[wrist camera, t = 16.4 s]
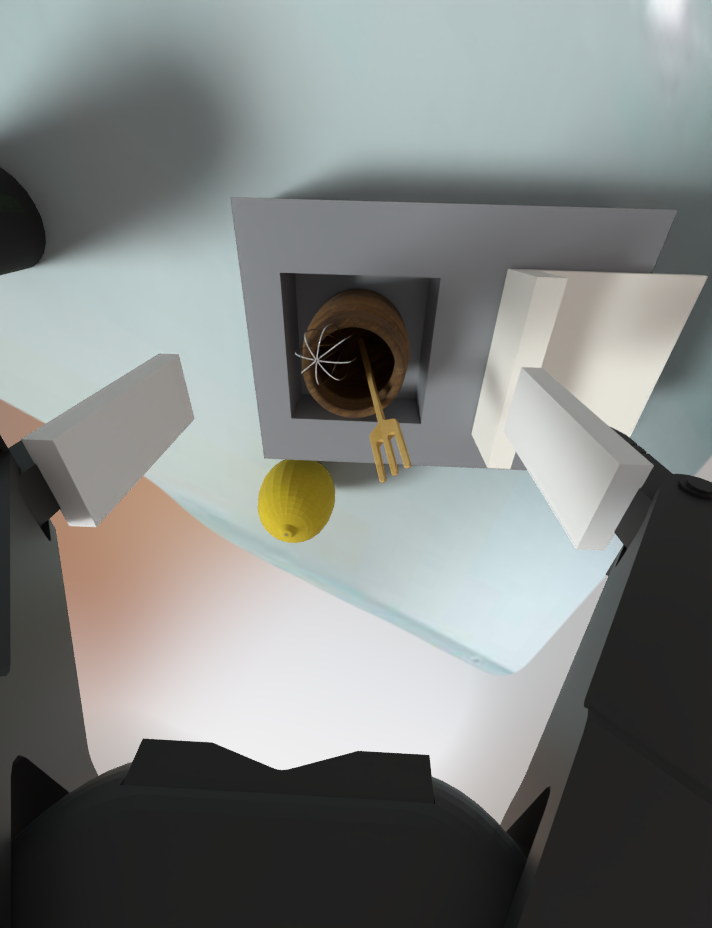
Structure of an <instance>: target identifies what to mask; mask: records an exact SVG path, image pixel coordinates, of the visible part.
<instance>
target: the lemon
mask: <svg viewBox="0 0 712 928" xmlns="http://www.w3.org/2000/svg"><path fill="white" fill-rule="evenodd" d="M334 502H335V488H334V484H333V480H332V478H331V476H330V474H329V472H328V471H327V469H326V468H325V467H324V466H322V465H321V464H320V463H319V462H317V461H312V460H289V459H285V460H283V461H281V462H280V463H278V464H277V465H275V466H274V467H273V468H272V469H271V470H270V472H269V473H268V474H267V475H266V477H265V479H264V481H263V483H262V486H261V488H260V491H259V498H258V512H259V517H260V520H261V522H262V524H263V526H264V528H265V529H266V530H267V531H268V532H269V533H270V534H271V535H272V536H274V537H275V538H277V539H279V540H281V541H285V542H289V543H298V542H303V541H306V540H309V539H311V538H313V537H314V536H315V535H317V534H318V533H319V532H320V531H321V530H322V529H323V528H324V526H325V525H326V524H327V522H328V520H329V518H330V516H331V513H332V510H333V507H334Z"/></svg>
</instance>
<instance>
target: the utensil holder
mask: <svg viewBox="0 0 712 928" xmlns="http://www.w3.org/2000/svg"><path fill="white" fill-rule="evenodd" d="M302 349H303V356H300V355H298V354H297V353H296V352H298V351H300V350H302ZM296 352H295V354H296V355H297V356H299V357H302V358H303V359H302V368H303V371H302V372H301V374H303V376H304V380H305V383H306V386H307V388H308V390H309V392H310V394H311V395H312V396H313V398H314V399H315V400H316V401H317V402H318V403H319V404H320V405H321V406H322V407H323V408H325V409H326V410H328V411H330V412H332V413H334V414H336V415H339V416H343V417H349V418H361V417H367V416H370V415H373V414H376V416H377V420H378V424H377V426H376V427H375V428H374V430H373V431H372V432H371V433H370V436H369V438H370V442H371V447H372V451H373V455H374V460H375V464H376V468H377V473H378V477H379V481H380V482H381V483H384V482H385V481H386V474H385V469H384V465H383V460H382V455H381V451H380V446H381V444H383V443H384V447H385V451H386V455H387V458H388V462H389V466H390V470H391V473H392V475H394V476H396V475H398V473H399V470H398V466H397V462H396V458H395V454H394V451H393V447H392V443H391V439H392V437H394V436H395V438H396V441H397V445H398V448H399V451H400V455H401V458H402V461H403V464H404V467H405V468H407V469H408V468H410V467H411V465H412V464H411V461H410V457H409V454H408V451H407V447H406V444H405V440H404V437H403V434H402V430H401V427H400V424H399V422H398V421H397V420H396V419H395V418H393V419H387V420H385V416H384V413H383V409H384V408H386V407H387V406H388V405H389V404H390V403H391V402H392V401H393V400H394V399H395V397H396V396H397V395H398V393H399V391H400V389H401V387H402V384H403V382H404V378H405V374H406V371H407V368H408V364H409V357H410V347H409V339H408V335H407V331H406V328H405V325H404V322H403V319H402V317H401V315H400V313H399V311H398V310H397V308H396V307H395V306H394V305H393V304H392V302H391V301H389V300H388V299H387V298H386V297H384V296H383V295H381V294H379V293H377V292H375V291H372V290H368V289H361V288H356V289H349V290H345V291H342V292H340V293H338V294H336V295H334V296H333V297H331V298H330V299H329V300H327V301H326V302H325V303H324V304H323V306H322V307H321V308H320V309H319V310H318V312H317V313H316V315H315V316H314V318H313V319H312V321H311V323H310V325H309V327H308V329H307V331H306V332H305V333H304V343H303V348H301V349H299V350H297V351H296Z"/></svg>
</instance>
